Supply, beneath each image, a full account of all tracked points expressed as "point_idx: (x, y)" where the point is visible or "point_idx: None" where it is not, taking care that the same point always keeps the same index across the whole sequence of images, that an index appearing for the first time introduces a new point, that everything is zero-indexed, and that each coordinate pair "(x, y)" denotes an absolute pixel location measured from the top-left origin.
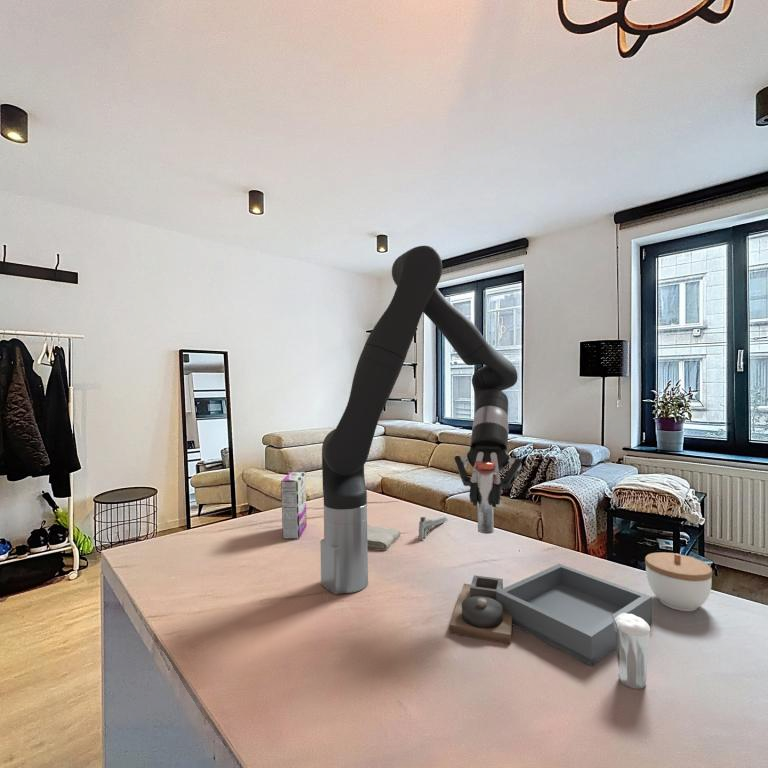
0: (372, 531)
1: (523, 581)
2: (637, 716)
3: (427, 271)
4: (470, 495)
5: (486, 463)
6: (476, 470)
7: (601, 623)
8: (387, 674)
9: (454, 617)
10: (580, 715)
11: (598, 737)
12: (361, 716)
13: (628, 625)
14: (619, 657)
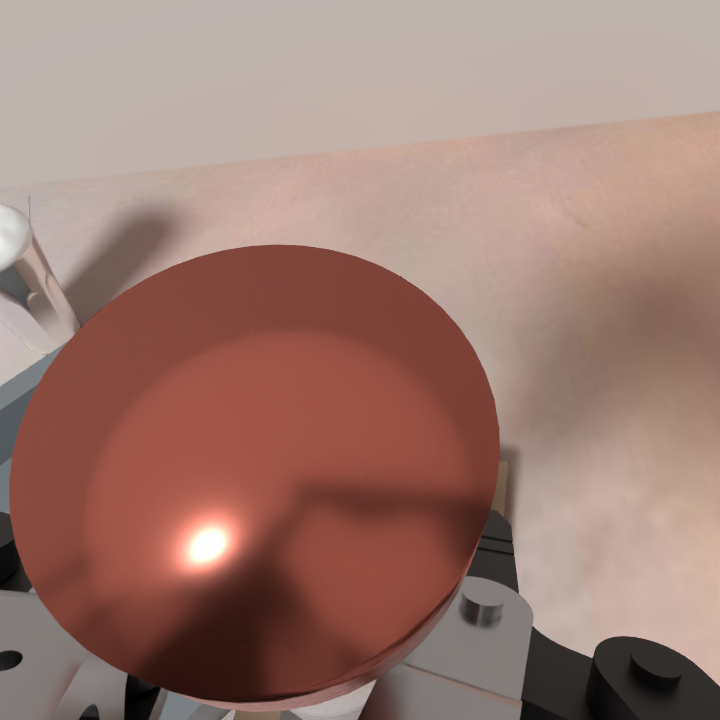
0: None
1: (169, 715)
2: (110, 245)
3: None
4: (499, 527)
5: (239, 344)
6: (445, 679)
7: (16, 393)
8: (637, 290)
9: (496, 509)
10: (221, 235)
11: (210, 198)
12: (644, 188)
13: (4, 208)
14: (60, 288)
